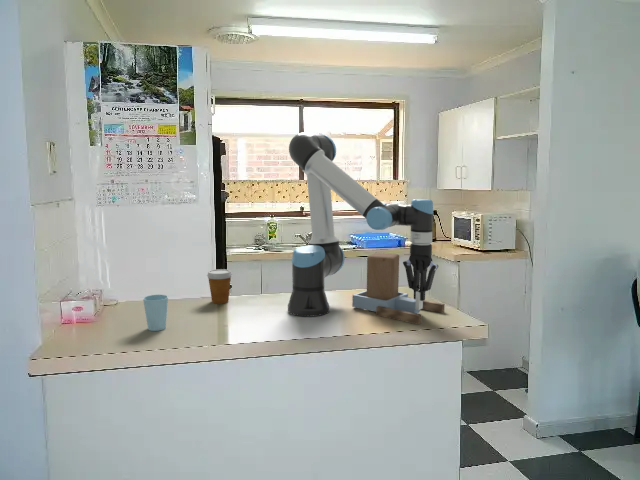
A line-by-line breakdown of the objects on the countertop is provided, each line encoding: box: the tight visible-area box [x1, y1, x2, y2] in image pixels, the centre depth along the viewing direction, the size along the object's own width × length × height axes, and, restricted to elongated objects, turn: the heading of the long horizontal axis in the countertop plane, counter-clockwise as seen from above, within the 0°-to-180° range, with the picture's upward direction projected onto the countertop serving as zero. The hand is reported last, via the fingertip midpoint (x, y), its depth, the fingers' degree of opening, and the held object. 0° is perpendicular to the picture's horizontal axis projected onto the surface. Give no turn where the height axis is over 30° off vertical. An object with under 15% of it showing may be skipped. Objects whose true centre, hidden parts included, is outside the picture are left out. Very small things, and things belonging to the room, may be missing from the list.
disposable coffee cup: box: [206, 268, 233, 305], centre depth 201 cm, size 10×10×12 cm
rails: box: [375, 296, 446, 325], centre depth 187 cm, size 17×19×3 cm
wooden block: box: [366, 252, 400, 301], centre depth 193 cm, size 10×10×20 cm
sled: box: [351, 289, 421, 314], centre depth 192 cm, size 23×15×4 cm, turn 51°
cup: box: [142, 294, 169, 332], centre depth 168 cm, size 8×8×10 cm
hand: (418, 308), depth 184 cm, fingers closed
